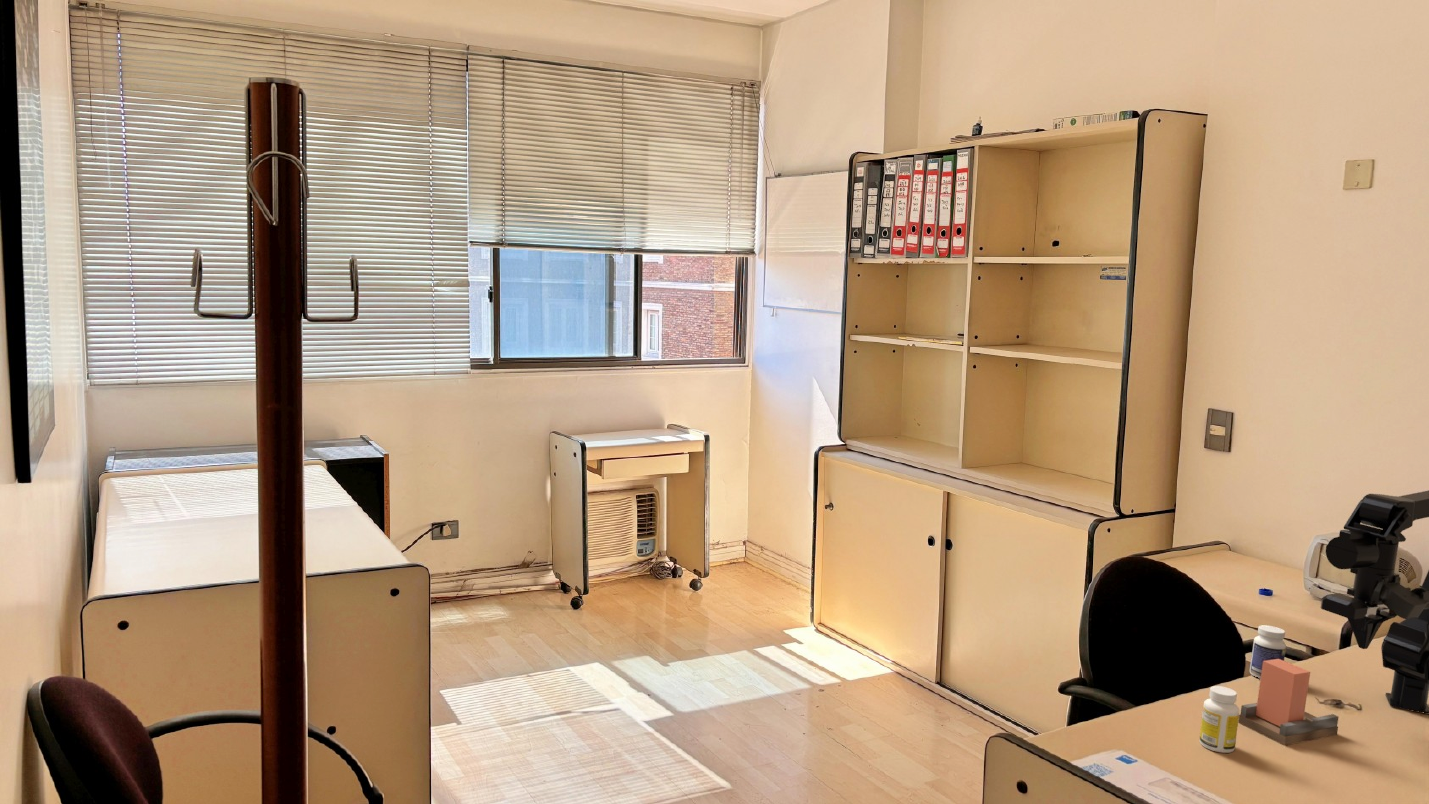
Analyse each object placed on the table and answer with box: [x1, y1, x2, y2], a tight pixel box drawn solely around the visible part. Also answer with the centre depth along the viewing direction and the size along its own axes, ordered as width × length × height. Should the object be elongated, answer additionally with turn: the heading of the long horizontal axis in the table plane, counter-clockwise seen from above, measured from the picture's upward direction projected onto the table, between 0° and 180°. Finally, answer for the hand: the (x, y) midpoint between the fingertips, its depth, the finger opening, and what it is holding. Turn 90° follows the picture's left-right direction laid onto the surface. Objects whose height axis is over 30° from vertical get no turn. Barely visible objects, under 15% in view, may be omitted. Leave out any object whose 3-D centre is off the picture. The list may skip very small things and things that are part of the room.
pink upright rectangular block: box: [1256, 659, 1311, 727], centre depth 177 cm, size 4×6×10 cm, turn 24°
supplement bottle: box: [1199, 685, 1240, 754], centre depth 169 cm, size 5×5×10 cm
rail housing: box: [1238, 702, 1339, 746], centre depth 178 cm, size 14×9×4 cm, turn 114°
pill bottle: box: [1249, 624, 1287, 680], centre depth 202 cm, size 6×6×10 cm
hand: (1362, 648), depth 184 cm, fingers closed
